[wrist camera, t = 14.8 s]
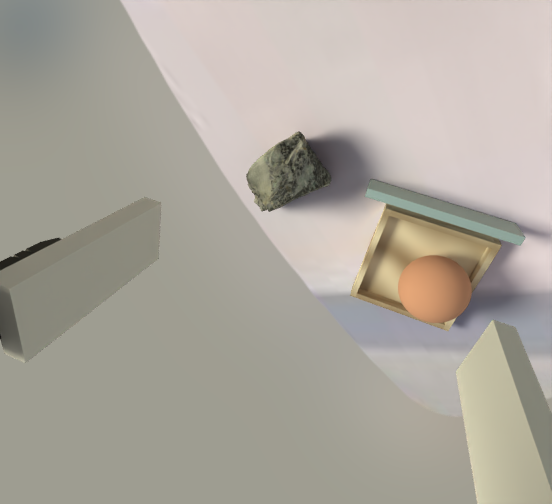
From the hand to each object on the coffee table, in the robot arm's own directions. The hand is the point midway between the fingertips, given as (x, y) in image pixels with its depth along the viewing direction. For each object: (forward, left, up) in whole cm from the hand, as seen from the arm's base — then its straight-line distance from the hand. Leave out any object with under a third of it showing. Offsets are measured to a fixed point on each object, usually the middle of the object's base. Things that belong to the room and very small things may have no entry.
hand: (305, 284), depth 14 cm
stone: (+6, -8, -33) cm, 34 cm away
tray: (+14, +11, -33) cm, 37 cm away
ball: (+14, +11, -32) cm, 36 cm away
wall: (+5, +10, -33) cm, 35 cm away
